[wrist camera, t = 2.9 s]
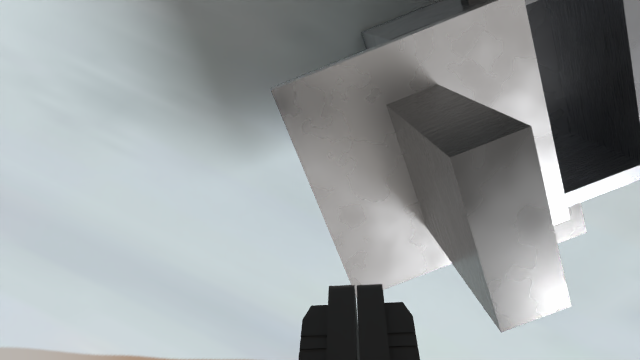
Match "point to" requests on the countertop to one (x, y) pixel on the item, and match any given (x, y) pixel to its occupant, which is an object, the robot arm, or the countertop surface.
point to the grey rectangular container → (573, 88)
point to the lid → (439, 160)
